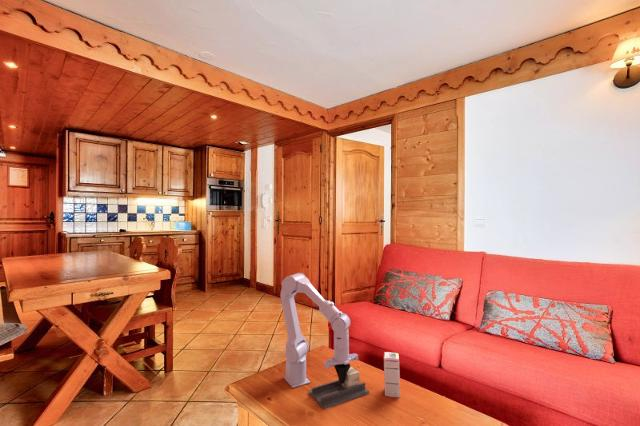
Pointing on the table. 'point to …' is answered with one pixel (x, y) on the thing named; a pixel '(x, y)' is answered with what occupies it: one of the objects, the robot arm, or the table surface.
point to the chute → (336, 393)
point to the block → (351, 378)
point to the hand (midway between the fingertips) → (341, 382)
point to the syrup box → (391, 374)
